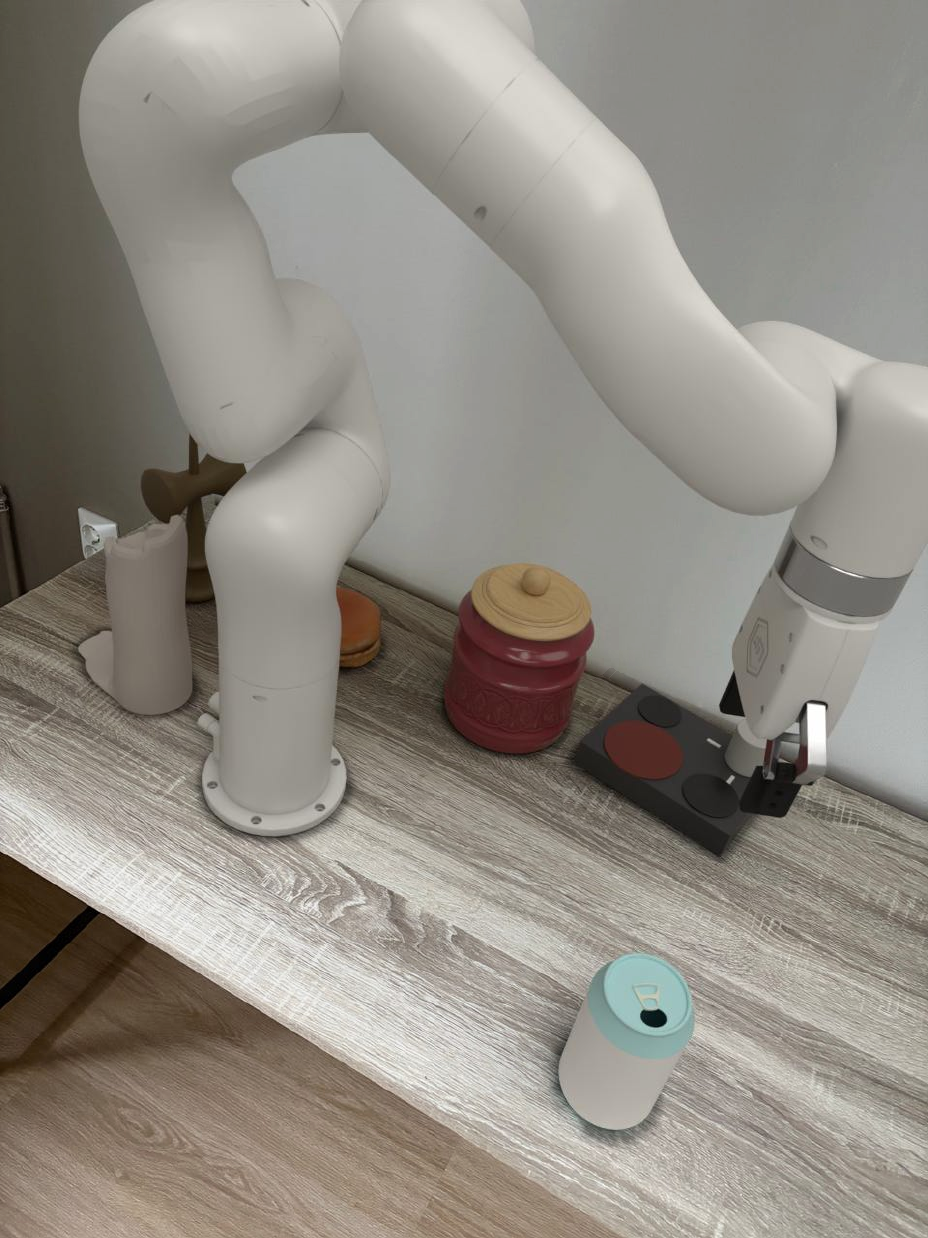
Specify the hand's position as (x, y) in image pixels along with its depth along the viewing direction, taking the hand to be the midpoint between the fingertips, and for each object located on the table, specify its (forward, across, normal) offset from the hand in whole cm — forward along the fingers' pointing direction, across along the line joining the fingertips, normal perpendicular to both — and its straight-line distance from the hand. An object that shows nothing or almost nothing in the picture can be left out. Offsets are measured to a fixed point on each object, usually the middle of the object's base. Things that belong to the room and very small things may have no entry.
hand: (749, 760), depth 70 cm
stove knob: (+16, -17, +8) cm, 25 cm away
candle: (+20, -19, -52) cm, 59 cm away
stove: (+19, -17, +2) cm, 26 cm away
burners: (+16, -16, +2) cm, 23 cm away
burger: (+20, -29, -34) cm, 48 cm away
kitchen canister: (+20, -22, -15) cm, 33 cm away
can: (+19, +15, -7) cm, 25 cm away
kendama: (+20, -34, -50) cm, 63 cm away
